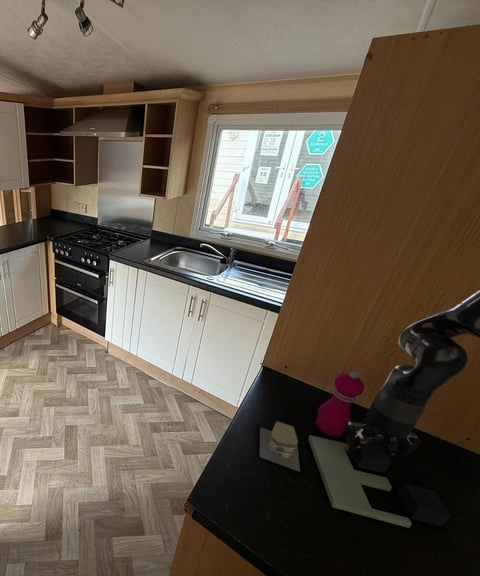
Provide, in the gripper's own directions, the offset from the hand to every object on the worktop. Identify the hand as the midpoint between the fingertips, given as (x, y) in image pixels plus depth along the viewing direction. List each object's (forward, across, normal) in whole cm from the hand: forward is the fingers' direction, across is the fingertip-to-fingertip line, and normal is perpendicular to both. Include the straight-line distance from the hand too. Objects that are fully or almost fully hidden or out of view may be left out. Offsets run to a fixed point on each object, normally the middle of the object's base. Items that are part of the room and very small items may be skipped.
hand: (366, 458), depth 76 cm
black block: (+3, -7, +8) cm, 11 cm away
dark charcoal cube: (+1, 0, 0) cm, 1 cm away
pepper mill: (+3, +4, -10) cm, 12 cm away
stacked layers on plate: (+3, +19, +1) cm, 19 cm away
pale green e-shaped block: (+3, +4, +4) cm, 6 cm away
